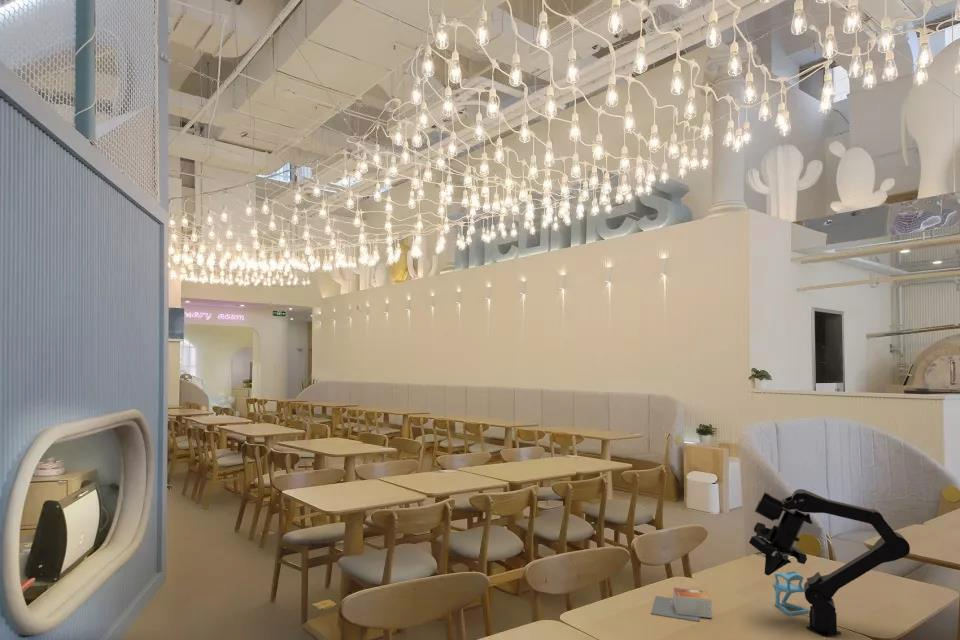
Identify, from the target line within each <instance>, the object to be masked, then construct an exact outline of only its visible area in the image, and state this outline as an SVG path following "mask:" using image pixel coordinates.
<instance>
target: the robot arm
mask: <svg viewBox="0 0 960 640" xmlns="http://www.w3.org/2000/svg"><path fill="white" fill-rule="evenodd" d="M783 512H784V513H783ZM754 513H756V514H758V515H760V516H762V517H764V518H765V519H768V520H770V521H772V522H774V521H778V520H779V519H780V518H781V519H780V520H779V523H778V525H773V526H772V528H769V527H766V525H765V523H762V522H756V524H755V525H754V528H753V532H754V533H755V534H756V535H753V536H750V539H749V540H748V543H749V544H750V545H751V546H753V547H754V548H755V549H756V550H758V551H759V552H760V553H761V554H764V555H765V556H764V558H765V561H764V575H766V576H768V577H769V576H771V575H772V574H774V573H776V572H777V571H778V570H779V569H781V568H783V567H785V566H786V565H788V564H791V563H792V561H791V560H790V559H789V557H793V558H795V559H796V562H797V563H798V564H801V565H805V564H806V562H807V560H808V558H807V554H806V553H804V552H803V551H802V550H800V549H799V548H797V546H795V542H799V541H800V537H798V535H800V534H799V533H800V531H801V530H802V528H803V525H804V523H807V524H810V525H813V520H812V519H811V514H822V513H823V514H826V515H827V514H828V515H831V516H835V517H841V518H844V519H849V520H853V521H857V522H861V523H866V524H870V525H871V526H872V527H873V529H875V531H876V532H877V533H878V535H879V536H880V538H879V539H877V541H876V542H875V543H874V544H873V546H872V547H871V548H870V549H869V550H867V551H865V552H863V553H862V554H860V555H858V556H857V557H855V558H854V559H852V560H850V561H848V562H847V563H845V564H844V565H842V566H840V567H839V568H837V569H836V570H834V571H832V572H831V573H828V574H824V575H821V573H820V572H819V571H818V572H816V573H814V575H812V576H811V577H807V578H806V582H804V585H803V589H804V592H803V593H804V597H805V600H806V602H807V603H808V604H809V605H810V606H809V609H810V610H808V615H809V625H806V629H808V630H810V631H812V632H814V633H816V634H819V635H821V636H823V637H831V636H836V635H841V634H842V631H841V630H840V631H839V630H838V629H837V627H838V622H837V612H836V610H837V609H836V606H835V602H834V599H833V597H834V595H835V594H836V593H837V592H838V591H839V589H841V588H844V587H845V586H846V585H848V584H850V583H851V582H853V581H855V580H856V579H859V578H860V577H861V576H864V575H865V574H866V573H868V572H870V571H871V570H873V569H874V568H877V567H878V566H880V565H881V564H884V563H890V562H895V561H897V560H900V559H903V558H906V557H907V556H908V555H909V554H910V553H911V547H910V544H909V542H908V541H907V539H906V538H905V537H904V536H903V535H902V534H901V533H900V532H897V531H894V530H893V528H892V527H891V526H890V524H888V522H887V521H886V519H884V516H883V515H882V513H881V512H880V511H879V510H877V509H874V508H866V507H862V506H859V505H854V504H849V503H845V502H840V501H836V500H833V499H827V498H825V497H823V496H820V495H818V494H816V493H813V492H812V491H808V490H806V489H802V488H801V489H800V488H799V489H796V490H794V491H793V492H792V494H791V495H790V496H787V497H786V498H783V499H781V500H780V499H778V498H777V497H774V496H772V495H771V494H770V493H768V492H763V495H762V496H761V498H760V499H759V500H758V502H757V505H756V506H755V509H754ZM782 513H783V514H782ZM810 513H811V514H810Z"/></svg>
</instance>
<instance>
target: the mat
mask: <svg viewBox="0 0 960 640" xmlns="http://www.w3.org/2000/svg"><path fill="white" fill-rule="evenodd" d="M671 601H672V602H671ZM650 615H655V616H660V617H664V618H665V617H666V618H673V619H677V620H678V619H679V620H683V621H684V620H685V621H690V622H697V623H698V622H700V618H701V617H698V616H688V615H679V614H676V611H675V607H674V605H673V597H665V596H659V595H655V598H654V602H653V605H652V608H651V613H650Z"/></svg>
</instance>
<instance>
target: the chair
mask: <svg viewBox="0 0 960 640" xmlns="http://www.w3.org/2000/svg"><path fill="white" fill-rule="evenodd" d="M773 574H774V575H773V576H774V578H775V583H773V584H772V587H773V588H774V592H775V598H774V599H775V602H774V603H775V606H776V607H778V609H780V610H781V611H782V612H784V613H785V614H786V615H788V616H790V615H791V616H798V615H806V614H809V609H807V608H805V607H804V608H803V607H802V606H799V605H795V604H792V603H789V602H787V601H788V599H789V598H790V596H791V595H792V594H794V593H795V594H796V593H804V587H802V584H803V583H802V582H803V580H804V577H803V576H802V575H801V574H800V573H799V572H797V571H792V570H791V571H787V572H779V573H776V572H773ZM778 577H781V578H782V579H783V580H785V582H782V583H779V582H780V581H779V578H778ZM793 581H799V582H798V584H797V585H798V586H797V585H795V584H793V583H791V582H793ZM781 593H785V595H784V597H783V598H782V599H780V598H781V597H780V595H781ZM780 600H781V603H780ZM786 607H787V608H790V609H793V610H791V611H790V610H789V609H787V608H786Z"/></svg>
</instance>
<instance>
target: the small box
mask: <svg viewBox="0 0 960 640" xmlns="http://www.w3.org/2000/svg"><path fill="white" fill-rule="evenodd" d="M672 593H673V595H672V598H673V605H674V607H675V611H676V614H679V615H688V616H698V617H700V618H709V619H711V618H712V611H713V610H712V598H711V596H710V593H709V590H701V589H692V588H691V589H690V588H681V587H673V592H672Z"/></svg>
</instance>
